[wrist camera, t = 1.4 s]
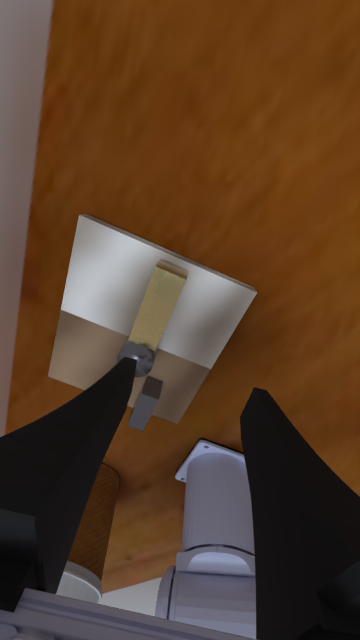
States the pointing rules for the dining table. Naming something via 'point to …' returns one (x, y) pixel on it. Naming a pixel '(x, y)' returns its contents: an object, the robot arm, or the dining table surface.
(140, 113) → the dining table surface
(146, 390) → the keeper block
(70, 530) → the robot arm
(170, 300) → the bar
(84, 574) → the disposable coffee cup
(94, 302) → the door edge board
